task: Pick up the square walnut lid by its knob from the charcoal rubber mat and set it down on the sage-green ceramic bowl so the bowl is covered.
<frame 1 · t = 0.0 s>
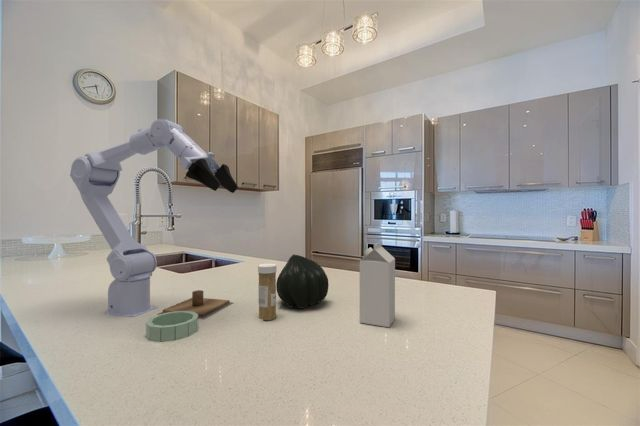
hand: (226, 188, 72), 32 cm above the countertop, tool tilted 50°, fingers open, 7 cm apart
squash: (302, 304, 86), on the countertop
bowl: (173, 333, 65), on the countertop
sprinkles bottle: (267, 318, 75), on the countertop
lid: (197, 308, 81), resting on mat
milk carton: (377, 321, 73), on the countertop
mat: (197, 309, 81), on the countertop
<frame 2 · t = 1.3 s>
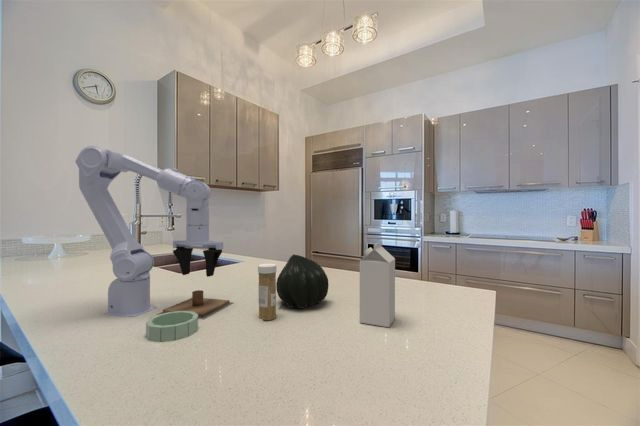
hand: (197, 275, 81), 9 cm above the countertop, tool pointing down, fingers open, 7 cm apart
nothing on the countertop moved.
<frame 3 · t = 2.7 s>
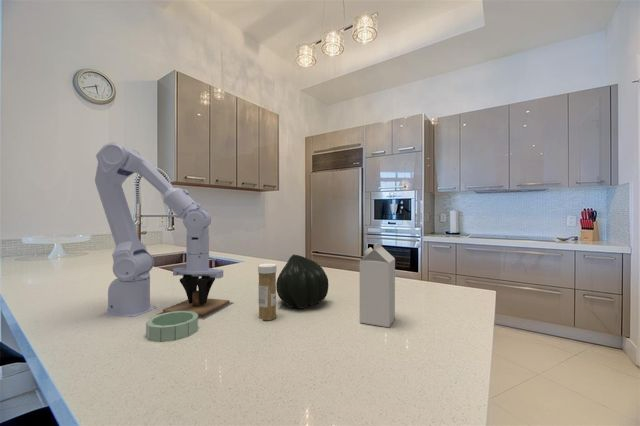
hand: (197, 303, 81), 2 cm above the countertop, tool pointing down, fingers closed on lid, 3 cm apart
lid: (197, 308, 81), resting on mat, touching gripper
everything else where it was.
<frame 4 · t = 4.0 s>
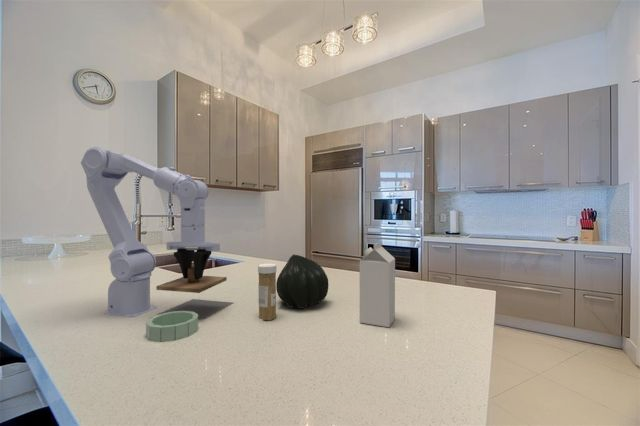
hand: (192, 278, 77), 9 cm above the countertop, tool pointing down, fingers closed on lid, 3 cm apart
lid: (193, 284, 78), point 8 cm above the countertop, touching gripper
everything else where it was.
when the fingers open (6 cm above the countertop, at t = 5.5 s): lid stays where it is, resting on bowl.
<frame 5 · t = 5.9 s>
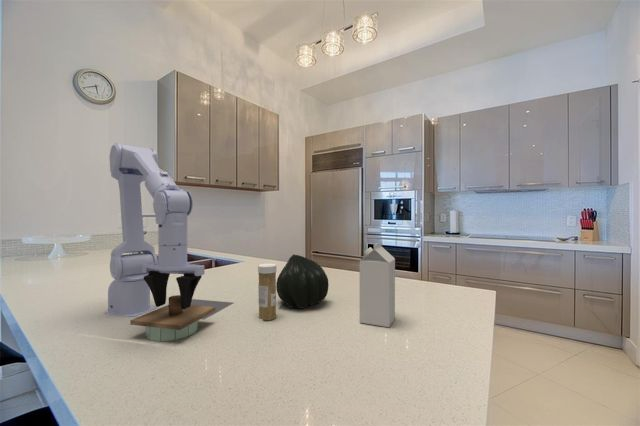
hand: (173, 306, 65), 6 cm above the countertop, tool pointing down, fingers open, 6 cm apart
lid: (175, 317, 66), point 3 cm above the countertop, touching bowl
everything else where it was.
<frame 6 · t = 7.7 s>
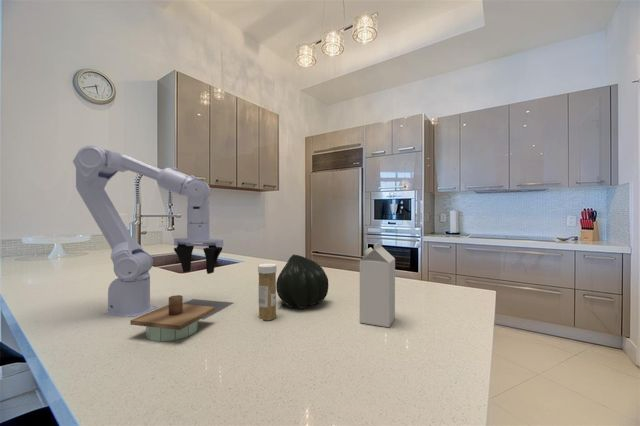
hand: (198, 272, 82), 10 cm above the countertop, tool pointing down, fingers open, 7 cm apart
nothing on the countertop moved.
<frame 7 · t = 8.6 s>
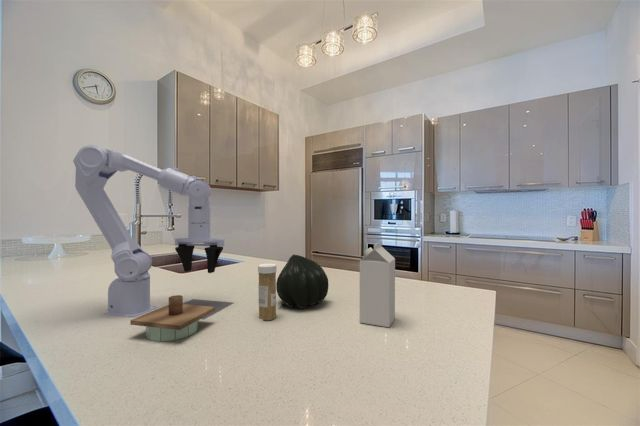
hand: (199, 271, 83), 10 cm above the countertop, tool pointing down, fingers open, 7 cm apart
nothing on the countertop moved.
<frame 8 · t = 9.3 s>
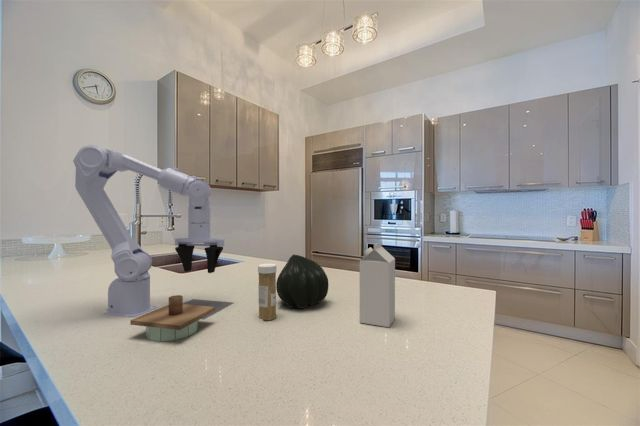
hand: (199, 271, 83), 10 cm above the countertop, tool pointing down, fingers open, 7 cm apart
nothing on the countertop moved.
at the end: lid 0.8 cm off-centre on the bowl, point 3.2 cm above the bowl's base; lid tilted 0°; the gripper is holding nothing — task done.
